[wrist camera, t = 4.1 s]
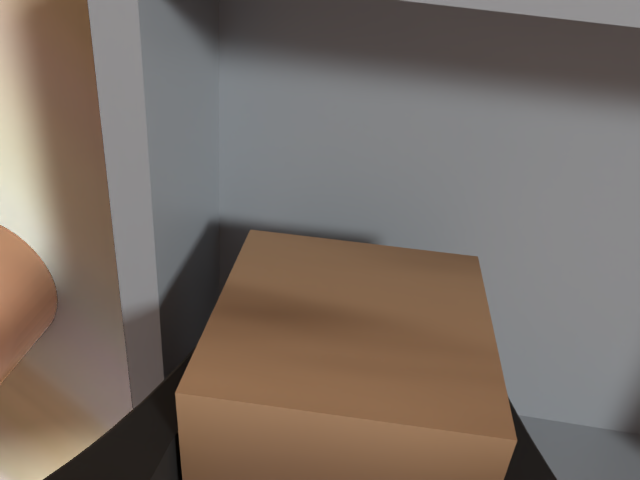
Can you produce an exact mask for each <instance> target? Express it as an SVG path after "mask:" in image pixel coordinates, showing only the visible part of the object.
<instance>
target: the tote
mask: <svg viewBox="0 0 640 480" xmlns="http://www.w3.org/2000/svg"><path fill="white" fill-rule="evenodd" d="M87 1H88V10H89V19H90V28H91V37H92V46H93V55H94V64H95V73H96V82H97V91H98V100H99V109H100V118H101V127H102V136H103V145H104V154H105V163H106V172H107V181H108V190H109V199H110V209H111V218H112V227H113V236H114V245H115V254H116V263H117V272H118V281H119V290H120V299H121V308H122V317H123V326H124V335H125V344H126V353H127V362H128V371H129V380H130V389H131V398H132V407H133V409H134V408H135V407H136V406H137V405H138V404H140V403H141V402H142V401H143V400H144V399H145V398H146V397H147V396H148V395H149V394H150V393H151V392H152V391H153V390H154V389H155V388H156V387H157V386H158V385H159V384H160V383H161V382H162V381H163V380H164V379H165V378H166V377H167V376H168V375H169V374H170V373H171V372H172V371H173V370H174V369H175V368H176V367H177V366H178V365H179V364H180V363H181V362H182V361H183V360H184V359H185V357H186V356H187V355H188V354H189V353H190V352H191V351H192V350H193V349H194V347H195V346H196V345H197V344H198V342H199V340H200V337H201V335H202V333H203V331H204V329H205V327H206V324H207V322H208V320H209V318H210V316H211V314H212V311H213V309H214V307H215V305H216V303H217V301H218V298H219V296H220V294H221V292H222V290H223V288H224V285H225V283H226V281H227V279H228V277H229V275H230V272H231V270H232V268H233V266H234V264H235V262H236V259H237V257H238V255H239V253H240V251H241V248H242V246H243V244H244V242H245V240H246V238H247V235H248V233H249V231H250V230H259V231H267V232H276V233H284V234H293V235H301V236H309V237H318V238H326V239H335V240H343V241H352V242H360V243H369V244H377V245H385V246H394V247H402V248H411V249H419V250H428V251H436V252H445V253H453V254H461V255H470V256H478V259H479V264H480V269H481V273H482V278H483V283H484V287H485V292H486V297H487V301H488V306H489V311H490V315H491V320H492V325H493V329H494V334H495V339H496V343H497V348H498V353H499V357H500V362H501V367H502V371H503V376H504V381H505V385H506V390H507V395H508V397H509V399H510V401H511V403H512V405H513V407H514V408H515V410H516V412H517V414H518V416H519V417H520V419H521V421H522V423H523V424H524V426H525V428H526V430H527V431H528V433H529V435H530V437H531V438H532V440H533V442H534V443H535V445H536V447H537V448H538V450H539V451H540V453H541V455H542V456H543V458H544V459H545V461H546V463H547V464H548V466H549V467H550V469H551V471H552V472H553V474H554V475H555V477H556V478H557V480H640V0H87Z"/></svg>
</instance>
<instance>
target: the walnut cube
mask: <svg viewBox="0 0 640 480" xmlns="http://www.w3.org/2000/svg"><path fill="white" fill-rule="evenodd" d="M175 398H176V410H177V422H178V434H179V446H180V458H181V470H182V480H504V477H505V475H506V472H507V469H508V466H509V463H510V460H511V457H512V454H513V451H514V449H515V446H516V443H517V437H516V432H515V427H514V423H513V418H512V413H511V409H510V404H509V399H508V395H507V390H506V385H505V381H504V376H503V371H502V367H501V362H500V357H499V353H498V348H497V343H496V339H495V334H494V329H493V325H492V320H491V315H490V311H489V306H488V301H487V297H486V292H485V287H484V283H483V278H482V273H481V269H480V264H479V259H478V256H470V255H461V254H453V253H445V252H436V251H428V250H419V249H411V248H402V247H394V246H385V245H377V244H369V243H360V242H352V241H343V240H335V239H326V238H318V237H309V236H301V235H293V234H284V233H276V232H267V231H259V230H250V231H249V233H248V235H247V238H246V240H245V242H244V244H243V246H242V248H241V251H240V253H239V255H238V257H237V259H236V262H235V264H234V266H233V268H232V270H231V272H230V275H229V277H228V279H227V281H226V283H225V285H224V288H223V290H222V292H221V294H220V296H219V298H218V301H217V303H216V305H215V307H214V309H213V311H212V314H211V316H210V318H209V320H208V322H207V324H206V327H205V329H204V331H203V333H202V335H201V337H200V340H199V342H198V344H197V346H196V348H195V350H194V353H193V355H192V357H191V359H190V361H189V364H188V366H187V368H186V370H185V372H184V374H183V377H182V379H181V381H180V383H179V385H178V387H177V390H176V392H175Z"/></svg>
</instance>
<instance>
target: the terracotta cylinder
mask: <svg viewBox="0 0 640 480" xmlns="http://www.w3.org/2000/svg"><path fill="white" fill-rule="evenodd" d="M57 301H58V300H57V291H56V287H55V284H54V281H53V279H52V276H51V274H50V272H49V270H48V269H47V267H46V265H45V264H44V262H43V261H42V260H41V258H40V257H39V256H38V255H37V253H36V252H35V251H34V250H33V249H32V248H31V247H30V246H29V245H28V244H27V243H26V242H25V241H23V240H22V239H21V238H20V237H18V236H17V235H16V234H14V233H13V232H11V231H10V230H8V229H7V228H5V227H3V226H1V225H0V384H1V383H2V382H3V381H4V379H5V378H6V377H7V376H8V375H9V373H10V372H11V371H12V370H13V369H14V368H15V366H16V365H17V364H18V363H19V362H20V360H21V359H22V358H23V357H24V356H25V354H26V353H27V352H28V351H29V350H30V348H31V347H32V346H33V345H34V344H35V342H36V341H37V340H38V339H39V338H40V336H41V335H42V334H43V333H44V332H45V330H46V329H47V328H48V327H49V325H50V324H51V323H52V321H53V319H54V317H55V315H56V310H57Z"/></svg>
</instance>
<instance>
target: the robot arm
mask: <svg viewBox="0 0 640 480" xmlns="http://www.w3.org/2000/svg"><path fill="white" fill-rule="evenodd" d="M196 346H197V345H196ZM196 346H195V347H194V349H193V350H192V351H191V352H190V353H189V354H188V355H187V356H186V357H185V359H184V360H183V361H182V362H181V363H180V364H179V365H178V366H177V367H176V368H175V369H174V370H173V371H172V372H171V373H170V374H169V375H168V376H167V377H166V378H165V379H164V380H163V381H162V382H161V383H160V384H159V385H158V386H157V387H156V388H155V389H154V390H153V391H152V392H151V393H150V394H149V395H148V396H147V397H146V398H145V399H144V400H143V401H142V402H141V403H140V404H138V405H137V406H136V407H135V408H134V409H133V410H132V411H131V412H129V413H128V414H127V415H126V416H125V417H124V418H123V419H121V420H120V421H119V422H118V423H117V424H116V425H115V426H114V427H112V428H111V429H110V430H109V431H108V432H106V433H105V434H104V435H103V436H101V437H100V438H99V439H98V440H97V441H95V442H94V443H93V444H91V445H90V446H89V447H88V448H86V449H85V450H84V451H82V452H81V453H80V454H78V455H77V456H76V457H74V458H73V459H72V460H70V461H69V462H68V463H66V464H65V465H63V466H62V467H60V468H59V469H58V470H56V471H55V472H53V473H52V474H50V475H49V476H47V477H46V478H44V479H43V480H182V470H181V458H180V446H179V434H178V422H177V410H176V398H175V392H176V390H177V387H178V385H179V383H180V381H181V379H182V377H183V374H184V372H185V370H186V368H187V366H188V364H189V361H190V359H191V357H192V355H193V353H194V350H195V348H196ZM508 399H509V397H508ZM509 404H510V409H511V413H512V418H513V423H514V427H515V432H516V437H517V443H516V446H515V449H514V451H513V454H512V457H511V460H510V463H509V466H508V469H507V472H506V475H505V477H504V480H557V478H556V477H555V475H554V474H553V472H552V471H551V469H550V467H549V466H548V464H547V463H546V461H545V459H544V458H543V456H542V455H541V453H540V451H539V450H538V448H537V447H536V445H535V443H534V442H533V440H532V438H531V437H530V435H529V433H528V431H527V430H526V428H525V426H524V424H523V423H522V421H521V419H520V417H519V416H518V414H517V412H516V410H515V408H514V407H513V405H512V403H511V401H510V399H509Z"/></svg>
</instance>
